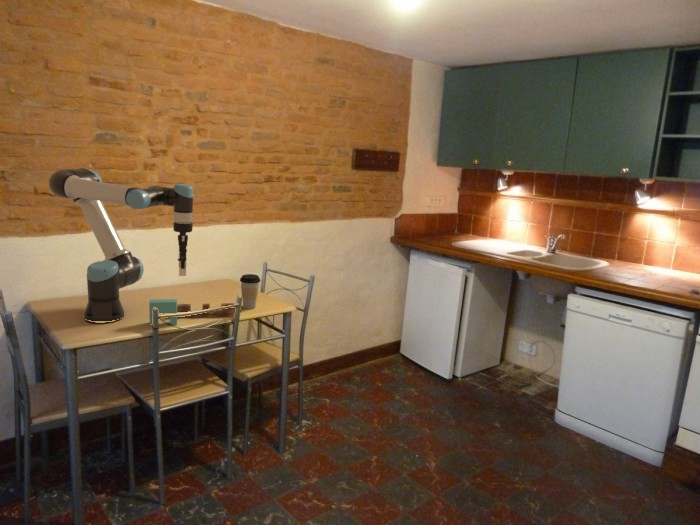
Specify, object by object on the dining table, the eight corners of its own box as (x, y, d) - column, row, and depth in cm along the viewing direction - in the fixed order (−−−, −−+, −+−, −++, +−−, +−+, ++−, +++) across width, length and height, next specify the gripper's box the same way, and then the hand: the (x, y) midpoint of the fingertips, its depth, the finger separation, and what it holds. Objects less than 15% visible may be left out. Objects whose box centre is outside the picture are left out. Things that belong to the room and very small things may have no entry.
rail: (177, 318, 220) (177, 307, 218) (177, 313, 225) (177, 303, 224) (234, 316, 226) (234, 306, 225) (233, 312, 231) (233, 302, 230)
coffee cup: (243, 311, 234) (244, 279, 231) (236, 305, 242) (236, 274, 238) (262, 308, 239) (263, 278, 236) (254, 302, 247) (255, 273, 244)
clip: (149, 325, 209) (149, 302, 207) (150, 322, 213) (150, 299, 211) (176, 325, 212) (176, 302, 210) (177, 321, 216) (177, 299, 213)
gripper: (193, 228, 201) (192, 279, 206) (191, 217, 224) (190, 263, 229) (173, 227, 199) (172, 279, 204) (173, 216, 221) (172, 263, 226)
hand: (182, 271), depth 216 cm, fingers open, 13 cm apart
